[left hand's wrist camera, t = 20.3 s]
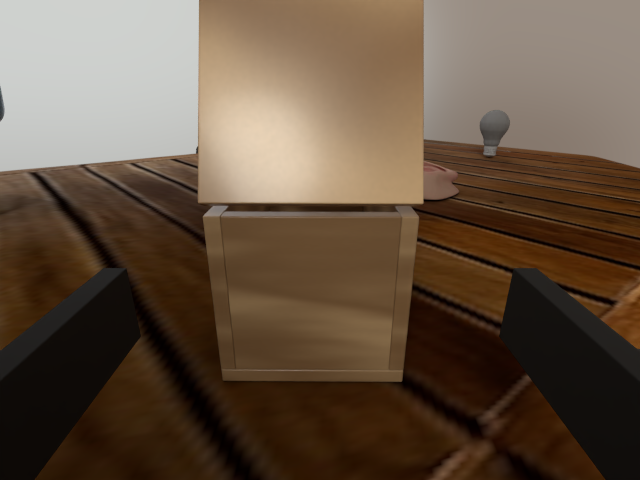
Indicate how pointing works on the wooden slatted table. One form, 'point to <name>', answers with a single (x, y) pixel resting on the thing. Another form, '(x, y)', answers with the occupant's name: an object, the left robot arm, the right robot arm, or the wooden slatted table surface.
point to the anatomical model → (438, 182)
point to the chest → (311, 291)
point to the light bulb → (493, 130)
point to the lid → (310, 103)
